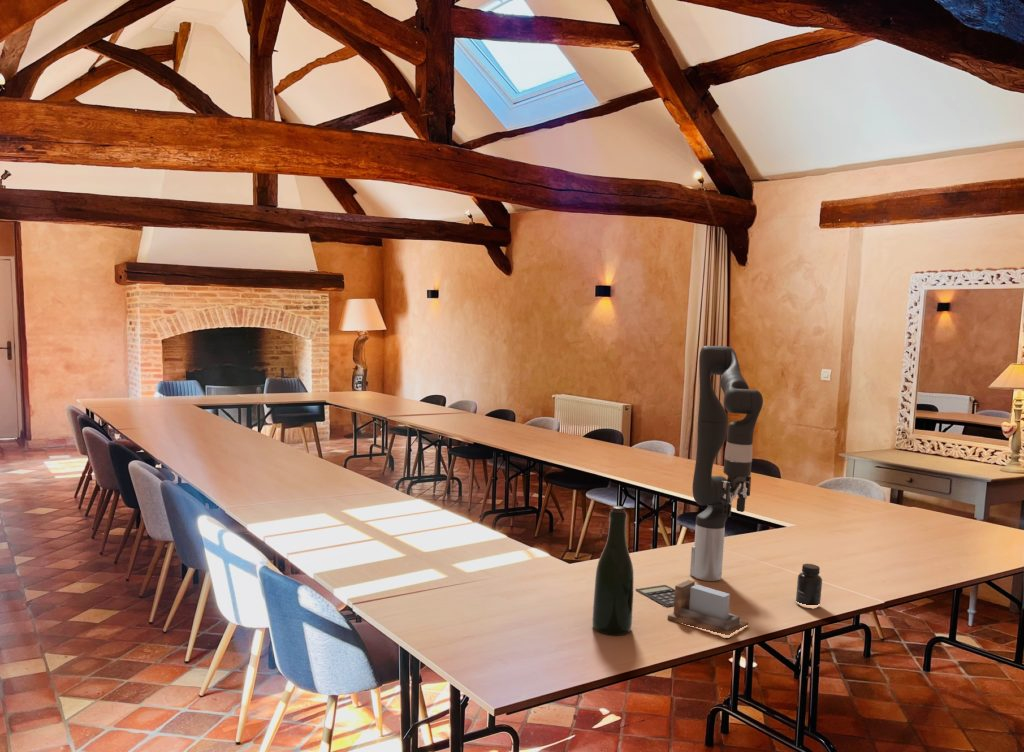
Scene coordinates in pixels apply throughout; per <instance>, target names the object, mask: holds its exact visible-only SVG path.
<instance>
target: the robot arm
mask: <svg viewBox="0 0 1024 752" xmlns="http://www.w3.org/2000/svg"><path fill="white" fill-rule="evenodd" d="M698 365H699V367H698V368H699V369H698V373H699V376H698V377H699V401H698V402H699V403H698V415H697V443H696V457H695V465H694V472H693V477H692V478H693V479H692V496H693V500H694V501H695V503H696V504H697V505H699V506H707V507H706V508H705V509H704V510H703V511H701V512H700V513H698V514H696V516H695V528H694V529H695V532H694V545H692V546H691V549H690V550H691V552H690V568H689V569H690V570H689V576H692V577H693V578H695V579H697V580H700V581H706V582H719V581H721V580H722V574H723V561H724V547H725V546H724V544H725V531H726V530H725V529H726V528H725V527H726V522H727V520H728V518H730V517H731V515H732V503H733V500H734V499H736V498H737V499H736V511H737V512H740V513H744V512H745V508H746V507H745V506H746V500H747V499H748V497H750V496H751V485H752V477H751V475H752V474H751V473H752V463H753V442H754V441H753V440H754V433H755V432H754V431H755V428H756V424H757V420H758V419H759V416H760V413H761V412H762V408H763V405H764V398H763V395H762V393H761V392H760V391H759V390H758V389H750V388H749V385H748V383H747V381H746V380H745V378H744V377H743V374H742V371H741V368H740V363H739V360H738V355H737V354H736V351H735V349H733V348H732V347H730V346H722V345H704V346H702V347H701V349H700V351H699V363H698ZM711 376H721V377H720V378H719V379H720V380H719V384H720V388H721V390H722V392H723V394H724V397H723V405H722V403H721V401H720V400H719V397H718V396H717V394H716V392H715V390H714V388H713V384H712V377H711ZM726 411H727V412H729V413H731V414H742V415H744V414H745V416H744V418H743V419H740V420H735V421H731V422H729V423H728V413H727V412H726ZM725 442H726V443H725ZM724 444H726V445H725V450H724V459H723V474H724V475H726V476H727V478H726V477H725V476H723V475H712V473H713V468H714V467H713V465H714V463H715V460H716V457H717V456H718V454H719V452H720V450H721V449H722V448H723V446H724ZM718 580H719V581H718Z"/></svg>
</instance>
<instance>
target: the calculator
mask: <svg viewBox="0 0 1024 752" xmlns="http://www.w3.org/2000/svg"><path fill="white" fill-rule="evenodd" d="M635 591H636V592H638V593H639V594H641V595H643V596H644V597H646V598H649V599H650V600H652V601H653V602H656V603H657V604H659V605H661V606H663V607H664V608H671V607H674V599H675V588H673V587H670V586H669V585H667V584H662V585H661V584H660V585H655V586H648V587H640V588H635Z"/></svg>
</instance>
